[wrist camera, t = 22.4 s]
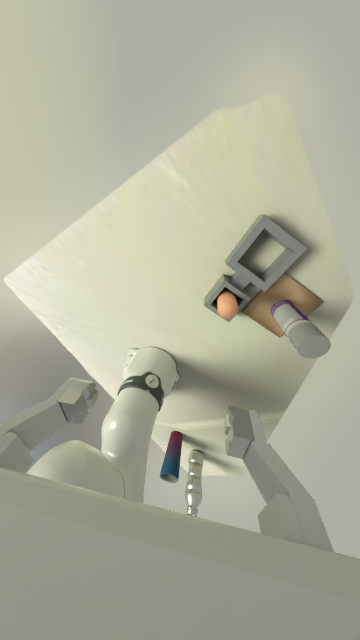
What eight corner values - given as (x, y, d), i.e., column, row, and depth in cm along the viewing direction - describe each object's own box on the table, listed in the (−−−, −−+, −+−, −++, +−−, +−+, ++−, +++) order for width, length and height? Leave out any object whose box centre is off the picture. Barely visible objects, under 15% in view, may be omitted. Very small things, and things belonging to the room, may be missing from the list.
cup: (180, 440, 76) (172, 484, 63) (166, 434, 76) (156, 477, 63) (187, 434, 73) (181, 479, 60) (173, 427, 72) (164, 471, 59)
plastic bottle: (194, 446, 76) (188, 510, 59) (206, 453, 77) (204, 518, 60) (186, 451, 80) (179, 513, 62) (198, 457, 80) (194, 520, 63)
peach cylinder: (226, 306, 42) (229, 321, 35) (213, 297, 41) (213, 311, 34) (237, 293, 40) (242, 307, 33) (224, 283, 39) (226, 295, 32)
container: (295, 311, 39) (336, 352, 26) (275, 320, 41) (303, 362, 28) (287, 295, 38) (325, 329, 25) (266, 305, 40) (292, 342, 27)
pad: (278, 336, 44) (279, 337, 43) (242, 310, 42) (242, 312, 42) (321, 301, 38) (323, 302, 37) (281, 270, 36) (282, 271, 36)
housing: (232, 315, 43) (234, 325, 39) (200, 294, 42) (198, 301, 38) (297, 246, 34) (310, 249, 30) (258, 215, 33) (265, 213, 28)
